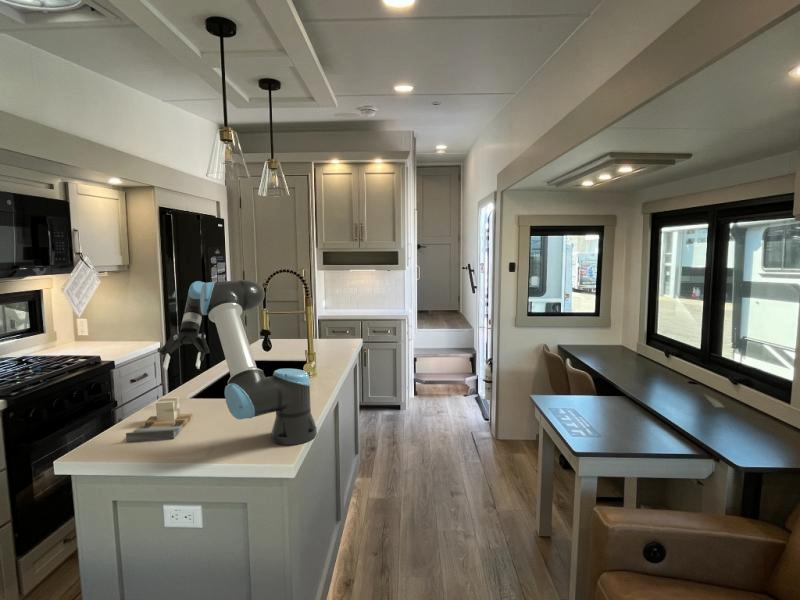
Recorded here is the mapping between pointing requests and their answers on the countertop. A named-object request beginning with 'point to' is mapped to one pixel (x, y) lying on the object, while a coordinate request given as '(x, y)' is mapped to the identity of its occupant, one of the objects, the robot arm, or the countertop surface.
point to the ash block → (167, 409)
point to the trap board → (158, 429)
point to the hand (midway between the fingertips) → (181, 368)
